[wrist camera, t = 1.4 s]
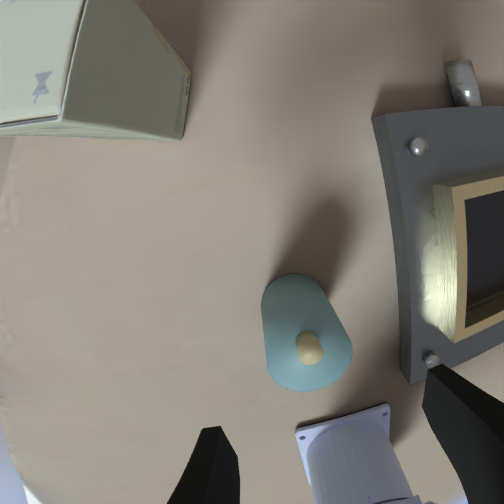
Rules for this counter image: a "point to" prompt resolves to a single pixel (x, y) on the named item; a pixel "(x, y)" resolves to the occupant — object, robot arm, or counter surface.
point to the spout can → (303, 335)
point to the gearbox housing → (446, 225)
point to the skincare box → (88, 72)
